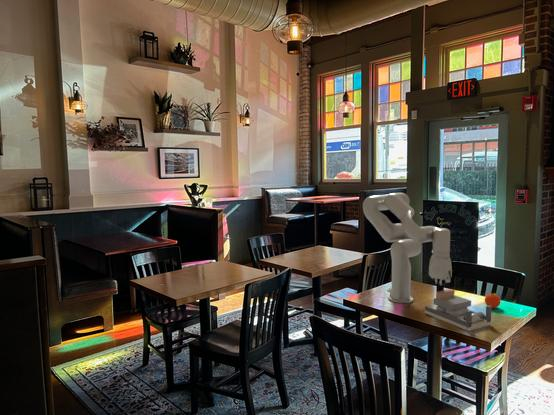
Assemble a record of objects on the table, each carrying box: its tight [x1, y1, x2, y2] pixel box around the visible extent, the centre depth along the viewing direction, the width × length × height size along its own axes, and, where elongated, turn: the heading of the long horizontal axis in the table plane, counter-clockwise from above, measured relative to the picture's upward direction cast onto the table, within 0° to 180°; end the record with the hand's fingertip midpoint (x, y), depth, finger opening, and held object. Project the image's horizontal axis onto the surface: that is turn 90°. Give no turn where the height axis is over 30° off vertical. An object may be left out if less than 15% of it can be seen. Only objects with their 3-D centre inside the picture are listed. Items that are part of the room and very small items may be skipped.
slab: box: [432, 288, 472, 311], centre depth 190 cm, size 10×13×6 cm
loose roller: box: [463, 311, 486, 323], centre depth 180 cm, size 4×9×4 cm, turn 117°
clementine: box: [484, 293, 501, 309], centre depth 203 cm, size 8×7×7 cm
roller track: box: [424, 305, 493, 332], centre depth 188 cm, size 24×15×8 cm, turn 28°
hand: (440, 292), depth 196 cm, fingers closed
